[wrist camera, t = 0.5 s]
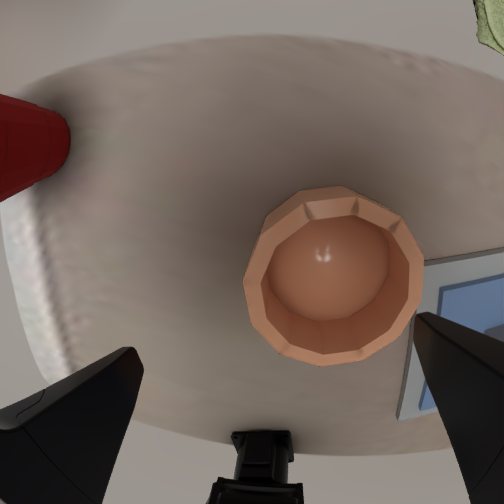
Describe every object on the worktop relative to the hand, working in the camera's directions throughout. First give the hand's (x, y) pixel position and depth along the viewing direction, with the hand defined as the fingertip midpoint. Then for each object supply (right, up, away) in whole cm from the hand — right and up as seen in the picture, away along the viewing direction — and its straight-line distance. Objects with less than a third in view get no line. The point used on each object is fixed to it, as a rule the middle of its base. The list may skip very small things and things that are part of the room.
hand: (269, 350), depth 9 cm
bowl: (+5, +2, +13) cm, 14 cm away
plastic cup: (-19, +13, +13) cm, 26 cm away
